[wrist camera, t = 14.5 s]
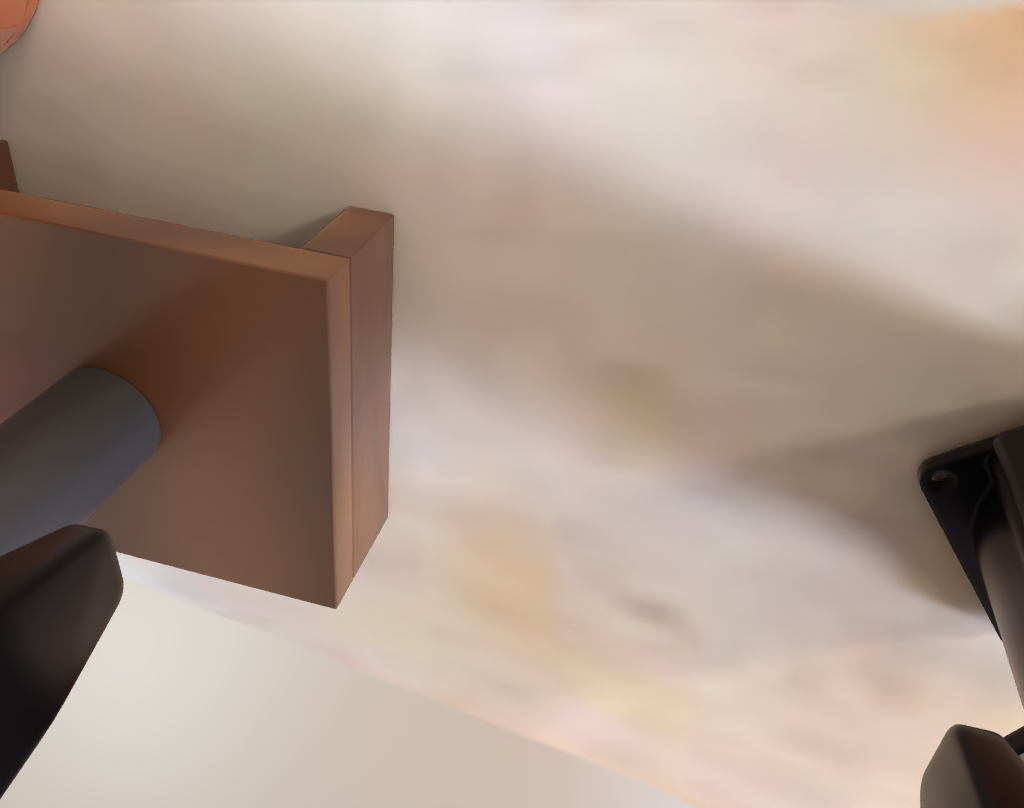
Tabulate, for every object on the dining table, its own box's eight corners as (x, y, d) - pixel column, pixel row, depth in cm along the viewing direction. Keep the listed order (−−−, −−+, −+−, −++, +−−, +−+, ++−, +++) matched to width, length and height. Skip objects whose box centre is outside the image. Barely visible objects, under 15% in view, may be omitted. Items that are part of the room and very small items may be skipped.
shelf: (394, 213, 21) (327, 280, 18) (388, 517, 27) (336, 610, 23) (-32, 133, 23) (-165, 180, 19) (46, 434, 28) (-47, 510, 25)
